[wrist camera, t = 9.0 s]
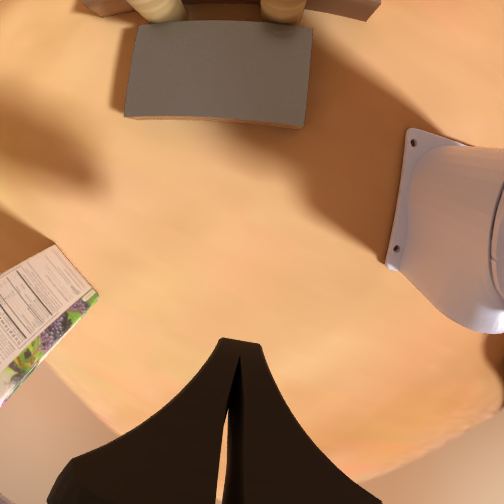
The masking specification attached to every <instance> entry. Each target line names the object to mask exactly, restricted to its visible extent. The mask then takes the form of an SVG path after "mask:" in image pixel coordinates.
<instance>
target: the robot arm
mask: <svg viewBox="0 0 504 504" xmlns="http://www.w3.org/2000/svg"><path fill="white" fill-rule="evenodd" d="M412 139H413V140H414V142H415V144H414V146H412V145H411V140H412ZM396 245H398V249H397V250H396V251H393V249H394V247H395V246H396ZM385 265H386V267H387V268H388V269H389V270H395V271H400V272H401V273H402V274H403V275H404V276H405V277H406V278H407V279H408V280H409V281H410V282H411V283H412V284H413V285H414V286H415V287H416V288H417V289H418V290H419V291H420V292H421V293H422V294H423V295H424V296H425V297H426V298H427V299H428V300H429V301H430V302H431V303H432V304H433V305H434V306H435V307H436V308H437V309H438V310H439V311H440V312H441V313H442V314H444V315H445V316H446V317H448V318H449V319H451V320H453V321H454V322H456V323H458V324H460V325H462V326H464V327H466V328H468V329H471V330H474V331H478V332H482V333H488V334H500V333H504V149H498V148H486V147H472V146H467V145H464V144H461V143H459V142H456V141H453V140H451V139H448V138H445V137H442V136H439V135H436V134H433V133H430V132H427V131H424V130H420V129H417V128H409V129H408V130H407V131H406V137H405V147H404V157H403V165H402V173H401V180H400V187H399V194H398V200H397V206H396V211H395V217H394V222H393V227H392V232H391V237H390V242H389V247H388V251H387V256H386V260H385ZM227 411H228V436H227V467H226V476H225V484H224V491H223V499H222V504H382V501H381V500H379V499H378V498H376V497H375V496H373V495H372V494H370V493H369V492H367V491H366V490H365V489H363V488H362V487H360V486H359V485H358V484H356V483H355V482H353V481H352V480H351V479H350V478H349V477H347V476H346V475H345V474H344V473H343V472H342V471H341V470H339V469H338V468H337V467H336V466H335V465H334V464H333V463H332V462H331V461H330V460H329V459H328V458H327V457H326V455H325V454H324V453H323V452H322V451H321V450H320V449H319V448H318V447H317V446H316V445H315V444H314V442H313V441H312V440H311V439H310V437H309V436H308V435H307V434H306V432H305V431H304V430H303V428H302V427H301V426H300V424H299V423H298V421H297V420H296V418H295V417H294V415H293V414H292V412H291V411H290V409H289V407H288V406H287V404H286V402H285V400H284V399H283V397H282V395H281V393H280V391H279V389H278V387H277V385H276V383H275V381H274V379H273V377H272V374H271V372H270V370H269V367H268V365H267V362H266V359H265V356H264V353H263V350H262V347H261V345H260V344H258V343H251V342H246V341H240V340H234V339H229V338H221V339H219V341H218V343H217V345H216V347H215V349H214V351H213V352H212V354H211V355H210V357H209V358H208V360H207V361H206V363H205V364H204V365H203V366H202V368H201V369H200V370H199V372H198V373H197V374H196V375H195V376H194V378H193V379H192V380H191V381H190V382H189V383H188V384H187V385H186V386H185V387H184V388H183V389H182V390H181V391H180V392H179V393H178V394H177V395H176V396H175V397H174V398H173V399H172V400H171V401H170V402H169V403H168V404H166V405H165V406H164V407H163V408H162V409H160V410H159V411H158V412H157V413H155V414H154V415H153V416H151V417H150V418H149V419H147V420H146V421H145V422H143V423H142V424H140V425H139V426H137V427H136V428H134V429H132V430H131V431H129V432H127V433H126V434H124V435H122V436H120V437H119V438H117V439H115V440H113V441H111V442H110V443H108V444H106V445H104V446H101V447H99V448H97V449H95V450H92V451H90V452H87V453H85V454H82V455H80V456H78V457H75V458H73V459H71V460H70V461H69V463H68V464H67V465H66V466H65V468H64V469H63V471H62V472H61V473H60V475H59V476H58V477H57V479H56V481H55V483H54V485H53V487H52V489H51V492H50V494H49V496H48V498H47V503H48V504H215V500H216V490H217V480H218V470H219V461H220V452H221V444H222V435H223V427H224V423H225V419H226V415H227ZM0 504H15V503H13V502H12V501H10V500H9V499H8V498H6V497H5V496H4V495H2V494H1V493H0Z"/></svg>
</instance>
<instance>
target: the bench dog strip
mask: <svg viewBox="0 0 504 504" xmlns="http://www.w3.org/2000/svg"><path fill="white" fill-rule="evenodd" d="M206 3H245V4H261V22H265V23H276V24H284V25H292V26H299V24H300V21H301V18H302V14H303V11H304V9H308V10H314V11H320V12H325V13H331V14H335V15H340V16H345V17H349V18H353V19H357V20H361V21H365V22H366V21H367V20H368V18H369V17H370V16H371V15H372V14H373V13H374V11H375V10H376V9H377V8H378V7H379V6H380V4H381V0H83V2H82V4H83V5H85V6H86V7H88V8H89V9H91V10H92V11H94V12H95V13H97V14H98V15H99V16H101V17H102V18H103V17H107V16H112V15H116V14H121V13H126V12H132V11H137V12H138V13H139V14H140V15H141V16H142V17H143V18H144V19H145V20H146V21H147V22H148V23H149V24H154V23H164V22H176V21H188V18H189V14H188V12H187V10H186V8H185V6H184V5H187V4H206Z"/></svg>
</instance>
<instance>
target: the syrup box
mask: <svg viewBox="0 0 504 504" xmlns="http://www.w3.org/2000/svg"><path fill="white" fill-rule="evenodd" d="M99 298H100V297H99V294H98V293H97V292H96V291H95V290H94V289H93V287H92V286H91V285H90V284H89V283H88V282H87V281H86V280H85V279H84V277H83V276H82V275H81V274H80V273H79V272H78V270H77V269H76V268H75V267H74V266H73V265H72V263H71V262H70V261H69V260H68V259H67V258H66V257H65V255H64V254H63V253H62V252H61V251H60V249H59V248H58V247H57V246H56V245H55V244H54V245H52V246H50V247H48V248H46V249H44V250H42V251H41V252H39V253H37V254H35V255H33V256H31V257H29V258H27V259H26V260H24V261H22V262H20V263H18V264H17V265H15V266H13V267H12V268H10V269H8V270H7V271H5V272H3V273H1V274H0V407H1V406H2V405H3V404H4V403H5V402H6V401H7V399H8V398H9V397H10V396H11V395H12V394H13V393H14V391H15V390H16V389H17V388H18V387H19V386H20V385H21V384H22V383H23V382H24V381H25V379H26V378H27V377H28V376H29V375H30V374H31V373H32V372H33V371H34V369H35V368H36V367H37V366H38V365H39V364H40V363H41V361H42V360H43V359H44V358H45V357H46V356H47V355H48V354H49V353H50V351H51V350H52V349H53V348H54V347H55V346H56V345H57V344H58V343H59V342H60V341H61V340H62V338H63V337H64V336H65V335H66V334H67V333H68V332H69V331H70V330H71V329H72V328H73V327H74V326H75V325H76V324H77V323H78V322H79V321H80V319H81V318H82V317H83V316H84V315H85V314H86V313H87V311H88V310H89V309H90V308H91V307H92V306H93V305H94V304H95V302H96V301H97V300H98V299H99Z"/></svg>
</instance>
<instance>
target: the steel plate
mask: <svg viewBox="0 0 504 504" xmlns="http://www.w3.org/2000/svg"><path fill="white" fill-rule="evenodd" d="M312 36H313V29H311V28H305V27H299V26H292V25H284V24H276V23H265V22H253V21H233V20H196V21H176V22H164V23H154V24H145V25H139V27H138V31H137V36H136V41H135V46H134V51H133V56H132V62H131V67H130V73H129V80H128V87H127V94H126V102H125V110H124V117H126V118H131V119H136V120H201V121H220V122H235V123H247V124H257V125H266V126H275V127H283V128H291V129H298V130H300V129H301V128H303V127H304V121H305V112H306V103H307V93H308V82H309V72H310V61H311V49H312Z"/></svg>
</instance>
